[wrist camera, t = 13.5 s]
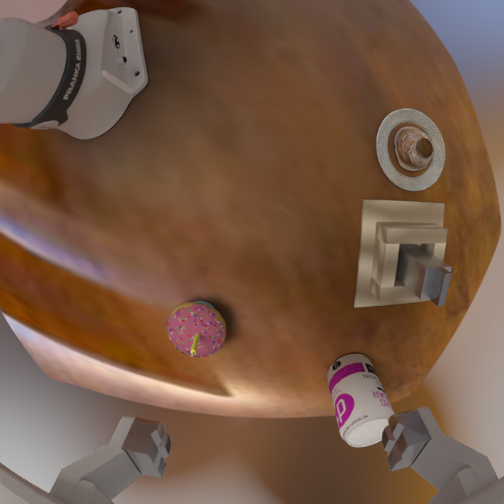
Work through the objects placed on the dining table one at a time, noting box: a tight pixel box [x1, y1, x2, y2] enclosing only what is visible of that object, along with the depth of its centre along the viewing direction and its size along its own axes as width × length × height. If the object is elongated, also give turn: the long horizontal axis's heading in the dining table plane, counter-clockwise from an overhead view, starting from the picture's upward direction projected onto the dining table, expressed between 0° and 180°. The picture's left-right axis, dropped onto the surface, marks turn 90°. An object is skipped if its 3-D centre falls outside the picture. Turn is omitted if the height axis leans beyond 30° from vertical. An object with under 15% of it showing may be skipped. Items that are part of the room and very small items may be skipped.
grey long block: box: [396, 244, 452, 306], centre depth 32 cm, size 4×4×12 cm
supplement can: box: [327, 354, 394, 447], centre depth 38 cm, size 8×8×15 cm
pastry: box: [376, 108, 445, 191], centre depth 32 cm, size 12×12×5 cm
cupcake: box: [167, 301, 226, 357], centre depth 37 cm, size 9×8×12 cm
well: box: [354, 199, 448, 307], centre depth 36 cm, size 16×14×5 cm
